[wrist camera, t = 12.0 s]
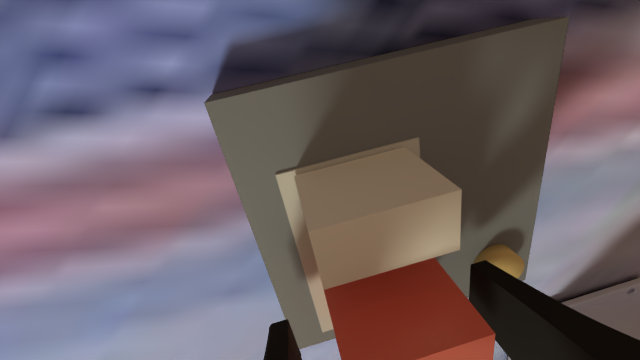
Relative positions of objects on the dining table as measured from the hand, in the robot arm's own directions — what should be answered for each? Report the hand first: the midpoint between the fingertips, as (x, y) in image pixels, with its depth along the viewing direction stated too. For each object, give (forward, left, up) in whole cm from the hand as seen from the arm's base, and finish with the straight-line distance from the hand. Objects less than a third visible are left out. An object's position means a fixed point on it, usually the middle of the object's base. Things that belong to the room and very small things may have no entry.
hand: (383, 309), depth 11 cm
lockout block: (0, 0, -2) cm, 2 cm away
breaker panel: (-2, -2, -3) cm, 5 cm away
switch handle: (0, -5, -2) cm, 5 cm away
